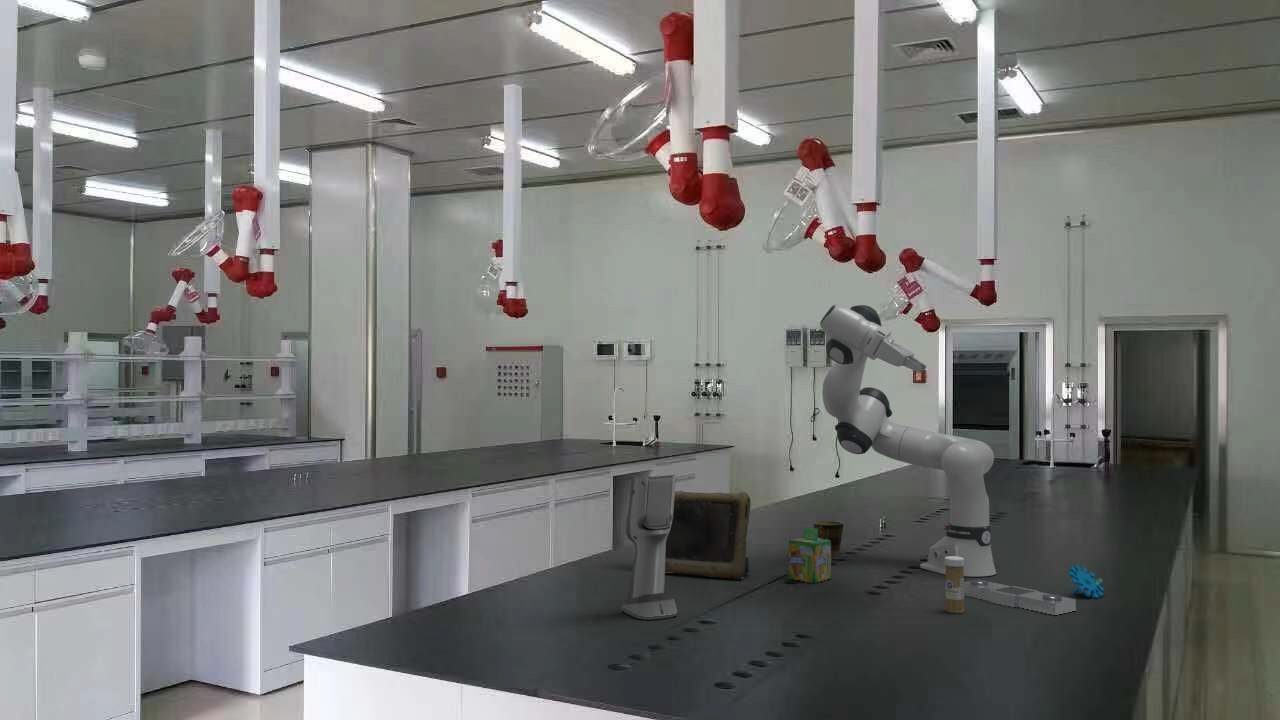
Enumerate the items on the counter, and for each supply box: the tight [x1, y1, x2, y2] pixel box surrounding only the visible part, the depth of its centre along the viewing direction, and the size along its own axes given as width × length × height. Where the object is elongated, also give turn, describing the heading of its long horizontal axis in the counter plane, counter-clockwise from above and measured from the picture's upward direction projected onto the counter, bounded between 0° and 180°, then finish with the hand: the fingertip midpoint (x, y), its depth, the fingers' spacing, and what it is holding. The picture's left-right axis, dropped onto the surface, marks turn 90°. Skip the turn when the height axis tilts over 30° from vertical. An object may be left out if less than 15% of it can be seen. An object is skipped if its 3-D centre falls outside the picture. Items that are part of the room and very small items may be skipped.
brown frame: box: [665, 490, 752, 580], centre depth 294 cm, size 33×14×25 cm, turn 68°
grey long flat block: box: [964, 579, 1077, 616], centre depth 251 cm, size 29×10×4 cm, turn 32°
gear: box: [1068, 564, 1105, 599], centre depth 259 cm, size 11×6×10 cm
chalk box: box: [788, 527, 832, 584], centre depth 283 cm, size 9×9×15 cm
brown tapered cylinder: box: [812, 519, 844, 554], centre depth 325 cm, size 13×10×10 cm
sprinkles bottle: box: [945, 556, 965, 614], centre depth 242 cm, size 5×5×13 cm
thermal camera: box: [621, 474, 678, 617], centre depth 245 cm, size 12×13×35 cm
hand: (922, 369), depth 258 cm, fingers open, 8 cm apart
